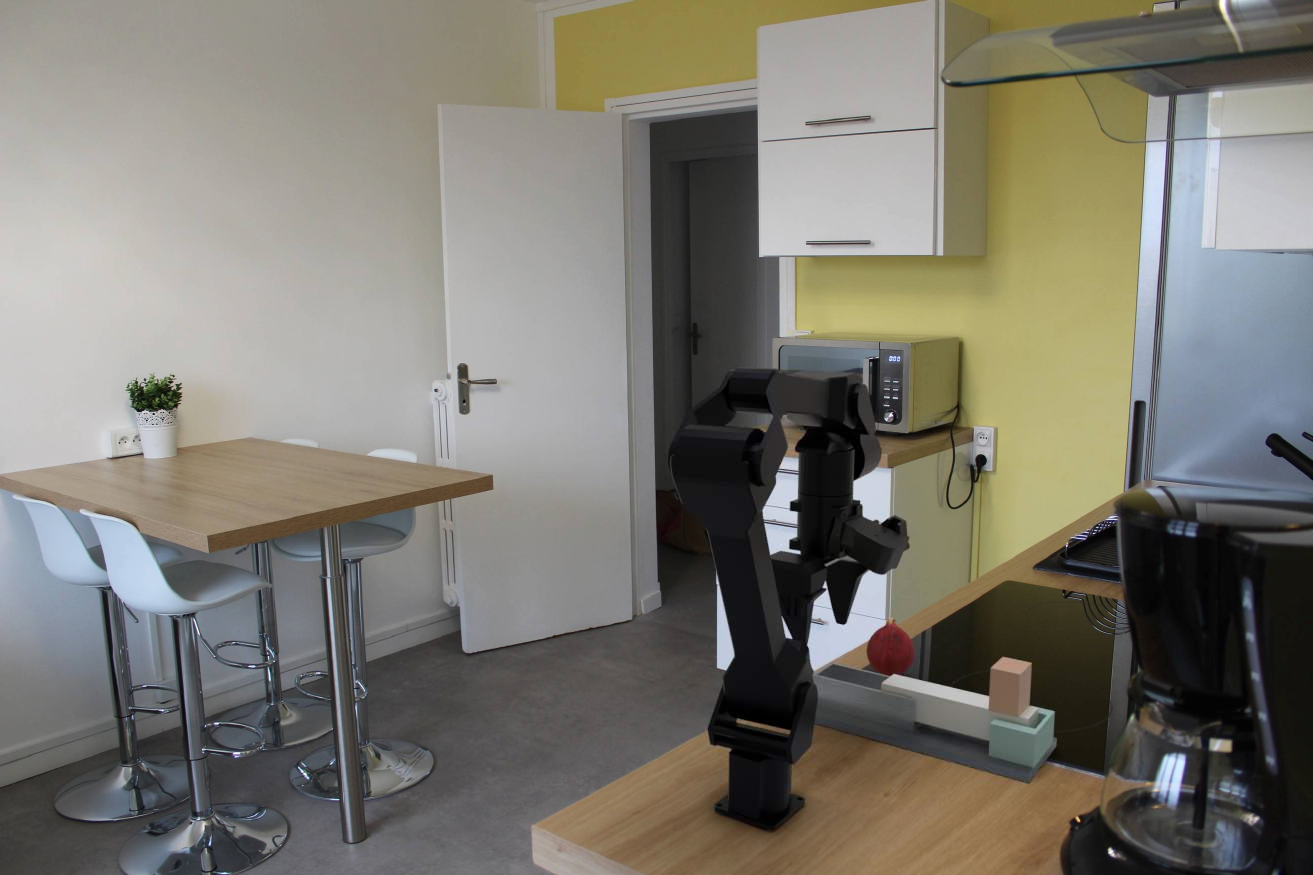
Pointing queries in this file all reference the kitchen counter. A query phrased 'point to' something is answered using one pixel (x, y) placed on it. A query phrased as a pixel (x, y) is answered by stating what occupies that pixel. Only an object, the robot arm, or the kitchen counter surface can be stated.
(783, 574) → the robot arm
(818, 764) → the kitchen counter surface
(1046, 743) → the socket
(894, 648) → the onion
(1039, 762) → the frame
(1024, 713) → the sliding bolt
